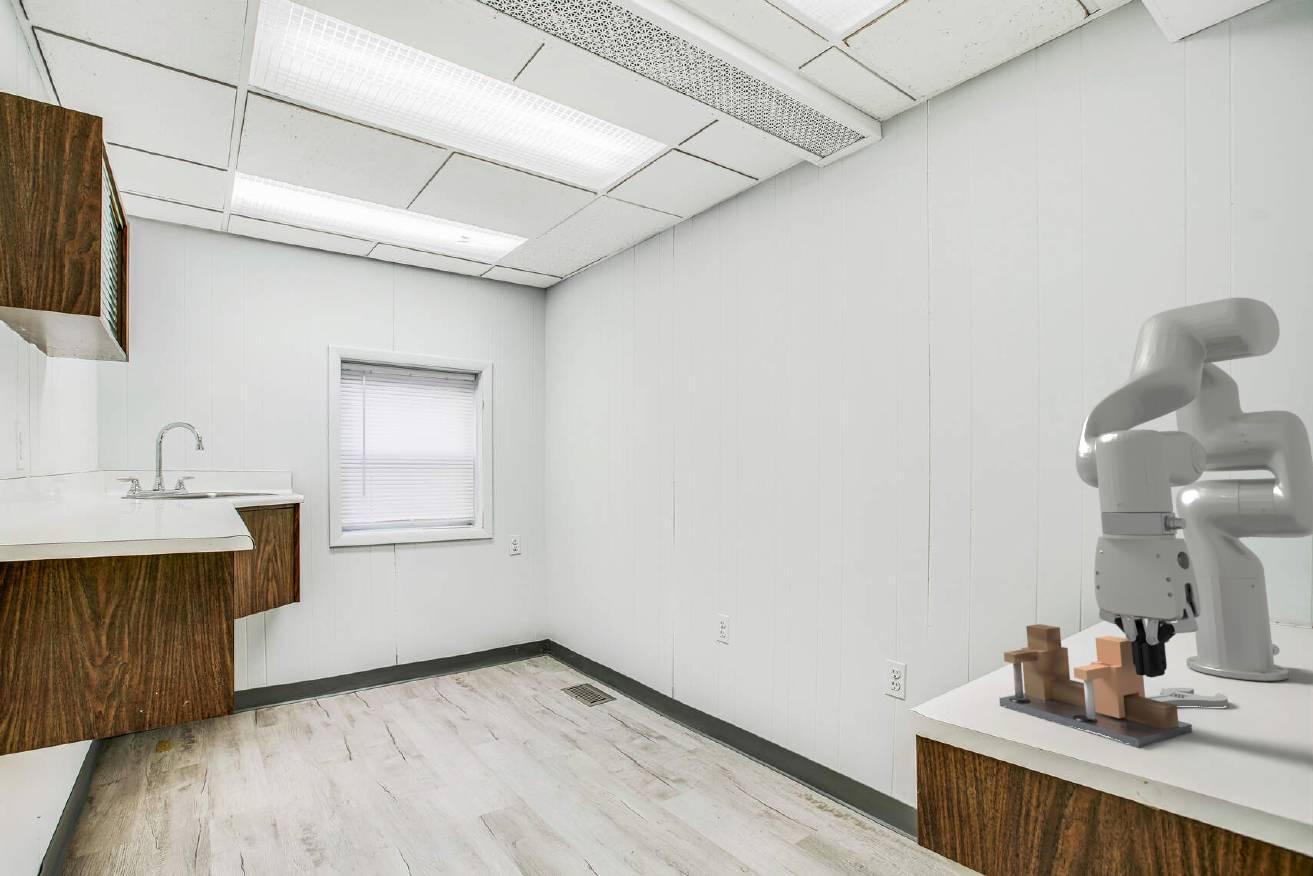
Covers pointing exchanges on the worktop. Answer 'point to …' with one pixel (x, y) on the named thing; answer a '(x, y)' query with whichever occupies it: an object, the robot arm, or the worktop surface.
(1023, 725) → the worktop surface
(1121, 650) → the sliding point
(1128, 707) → the trammel bar
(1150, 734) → the flange plate
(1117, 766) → the worktop surface
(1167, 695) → the adjustable wrench
